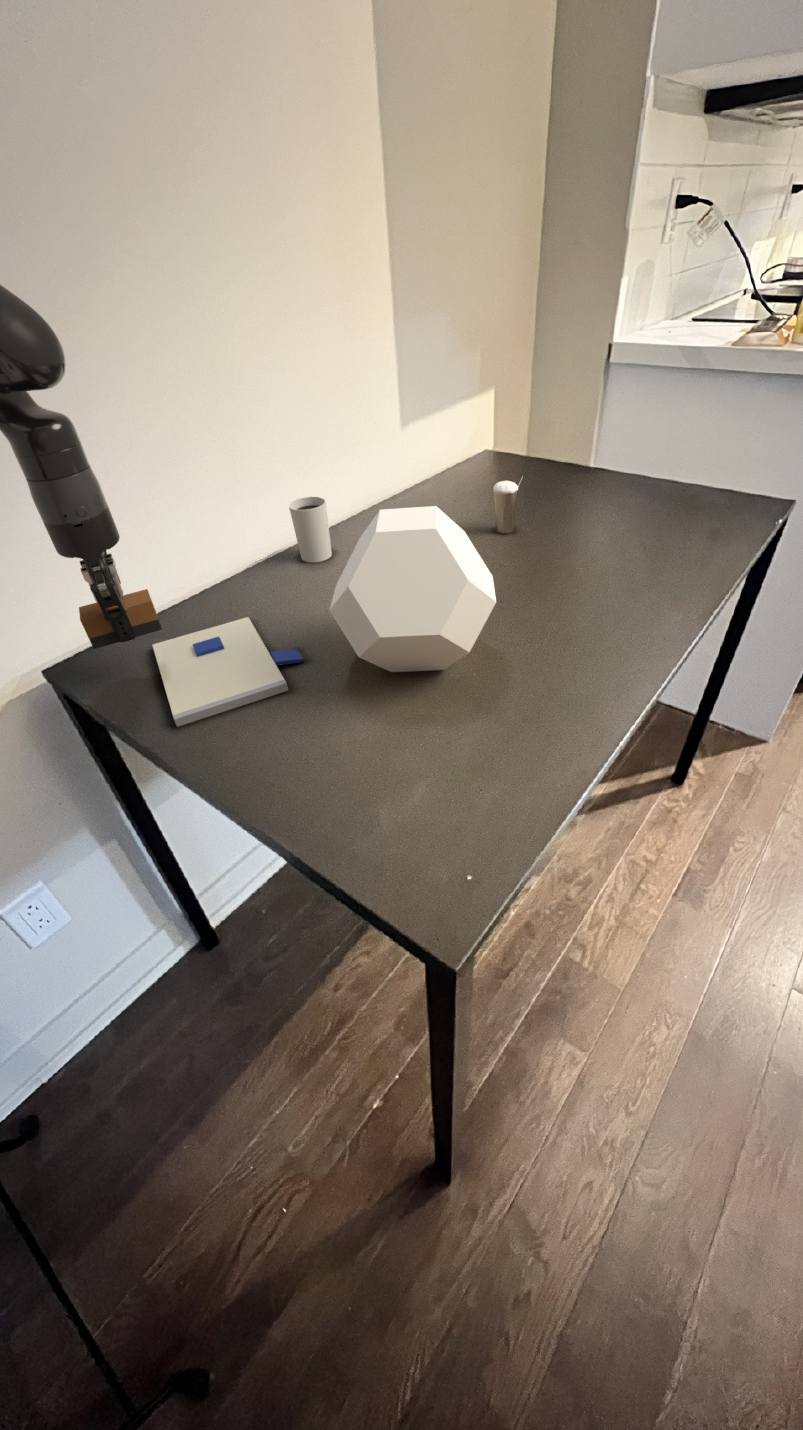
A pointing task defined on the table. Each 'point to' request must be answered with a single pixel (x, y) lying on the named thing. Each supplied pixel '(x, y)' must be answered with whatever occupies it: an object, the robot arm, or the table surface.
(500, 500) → the milkshake
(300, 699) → the table surface
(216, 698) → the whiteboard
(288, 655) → the blue rectangular block
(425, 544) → the geometric form
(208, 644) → the blue flat block
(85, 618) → the eraser
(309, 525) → the white cup
